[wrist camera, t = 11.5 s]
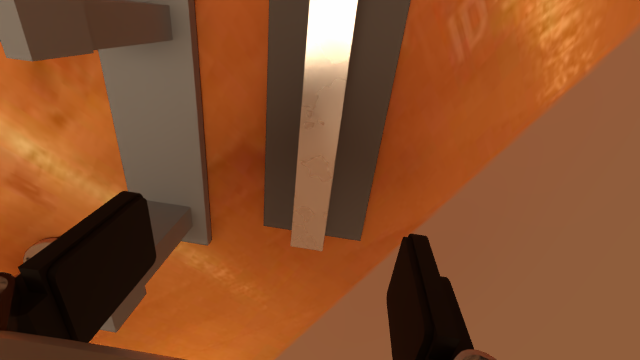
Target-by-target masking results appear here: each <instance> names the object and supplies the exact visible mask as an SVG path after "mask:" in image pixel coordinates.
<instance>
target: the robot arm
mask: <svg viewBox="0 0 640 360" xmlns="http://www.w3.org/2000/svg"><path fill="white" fill-rule="evenodd" d="M155 261H156V249H155V244H154V238H153V232H152V226H151V221H150V215H149V209H148V204H147V200H146V199H145V198H143V196H142V194H140V193H135V192H128V191H123V192H121V193H119V194H118V195H116V196H115V197H114V198H112V199H111V200H110V201H108V202H107V203H105V204H104V205H103V206H101V207H100V208H99V209H97V210H96V211H94V212H93V213H92V214H90V215H89V216H88V217H86V218H85V219H83V220H82V221H81V222H79V223H78V224H77V225H75V226H74V227H73V228H71V229H70V230H68V231H67V232H66V233H64V234H63V235H62V236H60V237H59V238H49V239H44V240H42V241H39V242H37V243H36V244H35V245H33V246H32V247H30V248H29V249H28V250H27V251H26V253H25V255H24V259H23V264H22V265H20V266H19V267H18V268H19V271H20V273H18V274H17V275H16V276H12V275H11V274H9V273H5V272H0V360H186V359H180V358H174V357H168V356H162V355H156V354H150V353H145V352H139V351H133V350H127V349H121V348H115V347H109V346H103V345H97V344H91V343H88V342H89V341H90V340H92V338H93V337H94V336H95V334H96V333H97V332H98V331H99V330H100V328H101V327H102V326H103V325H104V324H105V322H106V321H107V320H108V319H109V318H110V316H111V315H112V314H113V313H114V312H115V310H116V309H117V308H118V307H119V306H120V304H121V303H122V302H123V301H124V300H125V298H126V297H127V296H128V295H129V294H130V292H131V291H132V290H133V289H134V287H135V286H136V285H137V284H138V283H139V281H140V280H141V279H142V278H143V277H144V275H145V274H146V273H147V272H148V271H149V269H150V268H151V267H152V266H153V265H154V263H155ZM387 309H388V318H389V328H390V338H391V348H392V357H393V360H496V359H495V358H494V357H492V356H490V355H489V354H487V353H484V352H482V351H479V350H474V347H473V345H472V342H471V339H470V336H469V334H468V331H467V328H466V325H465V322H464V319H463V317H462V314H461V311H460V308H459V305H458V302H457V300H456V297H455V294H454V291H453V288H452V286H451V283H450V281H449V279H448V278H447V277H441V276H440V274H439V272H438V268H437V265H436V262H435V259H434V256H433V253H432V250H431V247H430V243H429V240H428V238H427V236H422V235H417V234H409V236H408V237H403V239H402V242H401V246H400V249H399V253H398V256H397V260H396V263H395V267H394V270H393V274H392V277H391V281H390V284H389V288H388V291H387Z"/></svg>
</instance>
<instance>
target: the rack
mask: <svg viewBox="0 0 640 360" xmlns="http://www.w3.org/2000/svg"><path fill="white" fill-rule="evenodd" d="M0 42H1V43H2V46H3V49H4V52H5V55H6V58H12V59H20V60H27V61H38V60H45V59H53V58H60V57H68V56H75V55H82V54H90V53H94V52H93V50H98V52H99V56H100V61H101V66H102V70H103V75H104V80H105V85H106V89H107V94H108V99H109V103H110V108H111V113H112V117H113V122H114V127H115V132H116V136H117V141H118V146H119V150H120V155H121V160H122V165H123V169H124V174H125V179H126V183H127V188H128V192H135V193H140V194H142V196H143V198H145V199H146V200H147V204H148V209H149V215H150V221H151V226H152V232H153V238H154V244H155V249H156V261H155V263H154V265H153V266H152V267H151V268H150V269H149V271H148V272H147V273H146V274H145V275H144V277H143V278H142V279H141V280H140V281H139V283H138V284H137V285H136V286H135V287H134V289H133V290H132V291H131V292H130V294H129V295H128V296H127V297H126V298H125V300H124V301H123V302H122V303H121V304H120V306H119V307H118V308H117V309H116V310H115V312H114V313H113V314H112V315H111V316H110V318H109V319H108V320H107V321H106V322H105V324H104V325H103V326H102V327H101V328H100V330H105V331H111V332H117V331H118V330H119V328H120V327H121V326H122V325H123V323H124V322H125V321H126V319H127V318H128V317H129V316H130V314H131V313H132V312H133V310H134V309H135V308H136V307H137V305H138V304H139V303H140V301H141V300H142V299H143V298H144V296H145V295H146V289H145V285H146V283H147V282H148V281H149V280H150V279H151V277H152V276H153V275H154V274H155V272H156V271H157V270H158V269H159V267H160V266H161V265H162V264H163V262H164V261H165V260H166V259H167V257H168V256H169V255H170V254H171V252H172V251H173V250H174V249H175V247H176V246H177V245H178V244H179V243H180V241H184V242H190V243H196V244H202V245H209V243H210V242H211V240H212V236H211V223H210V209H209V195H208V182H207V168H206V154H205V141H204V127H203V113H202V99H201V86H200V72H199V58H198V45H197V31H196V17H195V4H194V0H0Z"/></svg>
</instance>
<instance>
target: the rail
mask: <svg viewBox="0 0 640 360" xmlns="http://www.w3.org/2000/svg"><path fill="white" fill-rule="evenodd" d="M357 6H358V0H310V5H309V17H308V30H307V43H306V56H305V68H304V81H303V94H302V107H301V119H300V132H299V145H298V158H297V171H296V183H295V196H294V209H293V222H292V234H291V246H293V247H300V248H306V249H312V250H318V251H322V250H323V244H324V238H325V232H326V225H327V218H328V211H329V204H330V197H331V190H332V183H333V176H334V169H335V161H336V154H337V147H338V140H339V133H340V126H341V119H342V112H343V105H344V98H345V91H346V84H347V77H348V70H349V63H350V56H351V49H352V42H353V34H354V27H355V20H356V13H357Z"/></svg>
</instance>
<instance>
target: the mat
mask: <svg viewBox="0 0 640 360" xmlns="http://www.w3.org/2000/svg"><path fill="white" fill-rule="evenodd" d="M309 5H310V0H269V34H268V74H267V114H266V154H265V194H264V226H269V227H275V228H281V229H288V230H292V222H293V209H294V196H295V183H296V171H297V158H298V145H299V132H300V119H301V107H302V94H303V81H304V68H305V56H306V43H307V30H308V17H309ZM409 5H410V0H358V6H357V13H356V20H355V27H354V34H353V42H352V49H351V56H350V63H349V70H348V77H347V84H346V91H345V98H344V105H343V112H342V119H341V126H340V133H339V140H338V147H337V154H336V161H335V169H334V176H333V183H332V190H331V197H330V204H329V211H328V218H327V225H326V232H325V235H326V236H332V237H338V238H345V239H351V240H357V241H360V239H361V234H362V230H363V225H364V220H365V215H366V211H367V206H368V201H369V196H370V191H371V187H372V182H373V177H374V172H375V168H376V163H377V158H378V153H379V148H380V144H381V139H382V134H383V129H384V125H385V120H386V115H387V110H388V105H389V101H390V96H391V91H392V86H393V82H394V77H395V72H396V67H397V62H398V58H399V53H400V48H401V43H402V39H403V34H404V29H405V24H406V19H407V15H408V10H409Z"/></svg>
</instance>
